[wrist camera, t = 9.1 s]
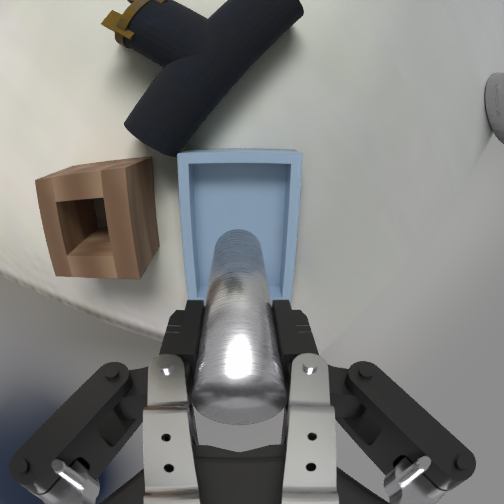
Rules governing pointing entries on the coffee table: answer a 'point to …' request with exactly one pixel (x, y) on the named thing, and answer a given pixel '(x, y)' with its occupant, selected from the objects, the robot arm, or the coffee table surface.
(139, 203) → the pin block
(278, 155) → the tray
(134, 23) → the pipe connector
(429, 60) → the coffee table surface
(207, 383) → the pin
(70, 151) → the coffee table surface
